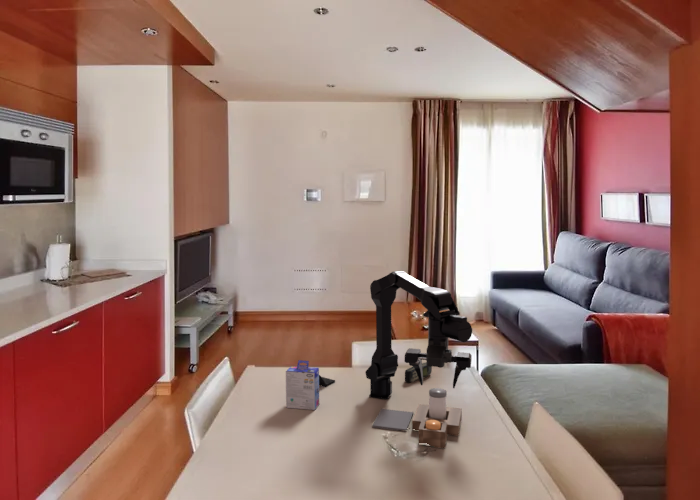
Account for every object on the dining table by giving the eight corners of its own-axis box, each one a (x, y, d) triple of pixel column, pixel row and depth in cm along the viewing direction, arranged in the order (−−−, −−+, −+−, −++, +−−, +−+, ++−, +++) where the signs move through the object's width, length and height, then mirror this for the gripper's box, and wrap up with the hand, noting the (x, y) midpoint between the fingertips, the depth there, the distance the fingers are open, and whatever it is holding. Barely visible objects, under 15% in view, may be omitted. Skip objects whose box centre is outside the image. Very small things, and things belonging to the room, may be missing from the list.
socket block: (407, 443, 136) (407, 427, 136) (418, 413, 155) (418, 399, 155) (456, 449, 132) (456, 433, 132) (461, 418, 151) (461, 403, 151)
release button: (424, 439, 136) (424, 425, 135) (426, 432, 139) (426, 419, 139) (439, 441, 134) (439, 427, 134) (441, 434, 138) (441, 420, 138)
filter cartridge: (427, 426, 146) (428, 393, 145) (430, 419, 151) (430, 387, 150) (445, 428, 144) (445, 395, 143) (446, 421, 149) (447, 389, 148)
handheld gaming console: (337, 376, 184) (326, 359, 178) (332, 393, 179) (320, 377, 173) (310, 376, 189) (299, 360, 183) (304, 392, 184) (292, 377, 178)
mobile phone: (409, 371, 179) (435, 360, 189) (402, 369, 181) (428, 359, 191) (409, 384, 180) (435, 373, 190) (403, 382, 182) (429, 371, 192)
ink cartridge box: (320, 403, 163) (319, 360, 162) (315, 410, 158) (315, 365, 156) (291, 401, 165) (290, 358, 164) (285, 408, 160) (284, 364, 158)
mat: (372, 427, 146) (372, 425, 146) (381, 410, 157) (381, 408, 157) (406, 431, 143) (406, 429, 143) (413, 414, 155) (413, 412, 154)
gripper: (401, 339, 140) (400, 393, 141) (470, 344, 134) (469, 400, 136) (407, 329, 150) (407, 379, 152) (472, 333, 145) (471, 385, 147)
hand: (437, 386), depth 146 cm, fingers open, 9 cm apart
